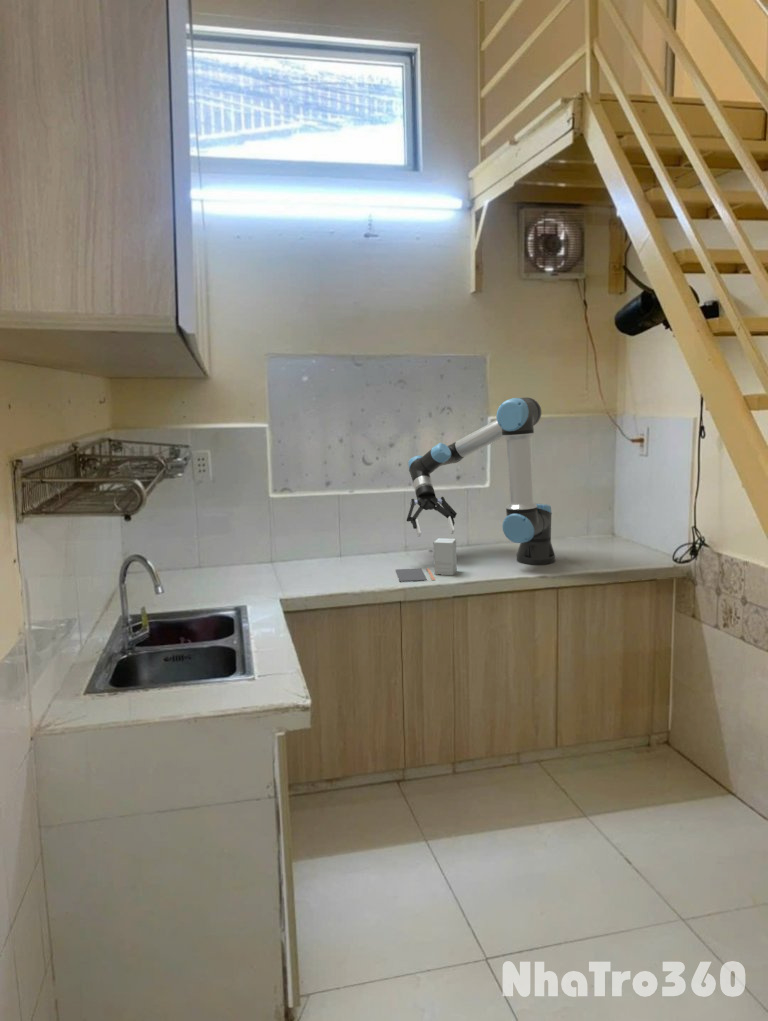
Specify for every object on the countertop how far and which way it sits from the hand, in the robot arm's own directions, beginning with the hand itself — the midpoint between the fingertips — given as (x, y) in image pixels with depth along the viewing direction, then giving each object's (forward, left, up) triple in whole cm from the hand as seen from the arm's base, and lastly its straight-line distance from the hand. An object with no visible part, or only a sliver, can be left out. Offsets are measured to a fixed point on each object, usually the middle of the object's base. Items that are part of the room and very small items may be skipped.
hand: (436, 533), depth 267 cm
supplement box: (-2, +8, -14) cm, 16 cm away
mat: (+11, +10, -14) cm, 20 cm away
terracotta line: (+4, +10, -14) cm, 17 cm away
